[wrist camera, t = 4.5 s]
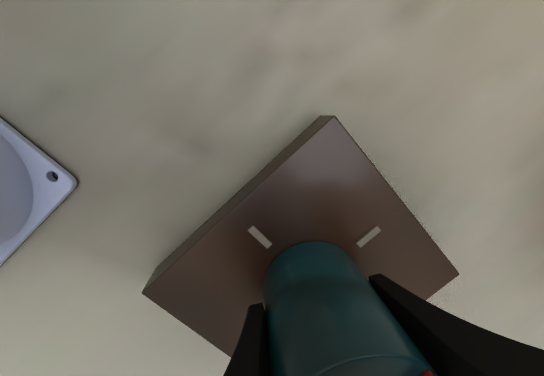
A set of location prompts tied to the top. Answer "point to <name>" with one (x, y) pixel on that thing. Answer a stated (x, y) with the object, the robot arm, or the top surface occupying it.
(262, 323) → the robot arm
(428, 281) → the stand
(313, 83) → the top surface
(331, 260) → the jar
